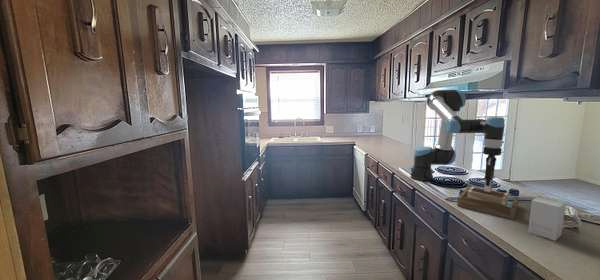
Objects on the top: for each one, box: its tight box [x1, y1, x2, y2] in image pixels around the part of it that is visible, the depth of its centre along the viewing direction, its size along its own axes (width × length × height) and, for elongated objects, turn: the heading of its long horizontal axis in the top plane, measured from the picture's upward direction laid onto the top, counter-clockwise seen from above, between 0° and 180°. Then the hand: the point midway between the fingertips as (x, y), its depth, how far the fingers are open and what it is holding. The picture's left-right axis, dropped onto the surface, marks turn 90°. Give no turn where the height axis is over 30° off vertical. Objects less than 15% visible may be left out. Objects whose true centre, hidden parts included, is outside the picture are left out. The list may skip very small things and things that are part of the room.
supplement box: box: [527, 196, 567, 242], centre depth 110 cm, size 9×9×15 cm
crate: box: [467, 174, 509, 206], centre depth 136 cm, size 10×16×17 cm, turn 46°
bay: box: [456, 187, 519, 220], centre depth 140 cm, size 22×24×6 cm
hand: (487, 190), depth 136 cm, fingers closed on crate, 3 cm apart
